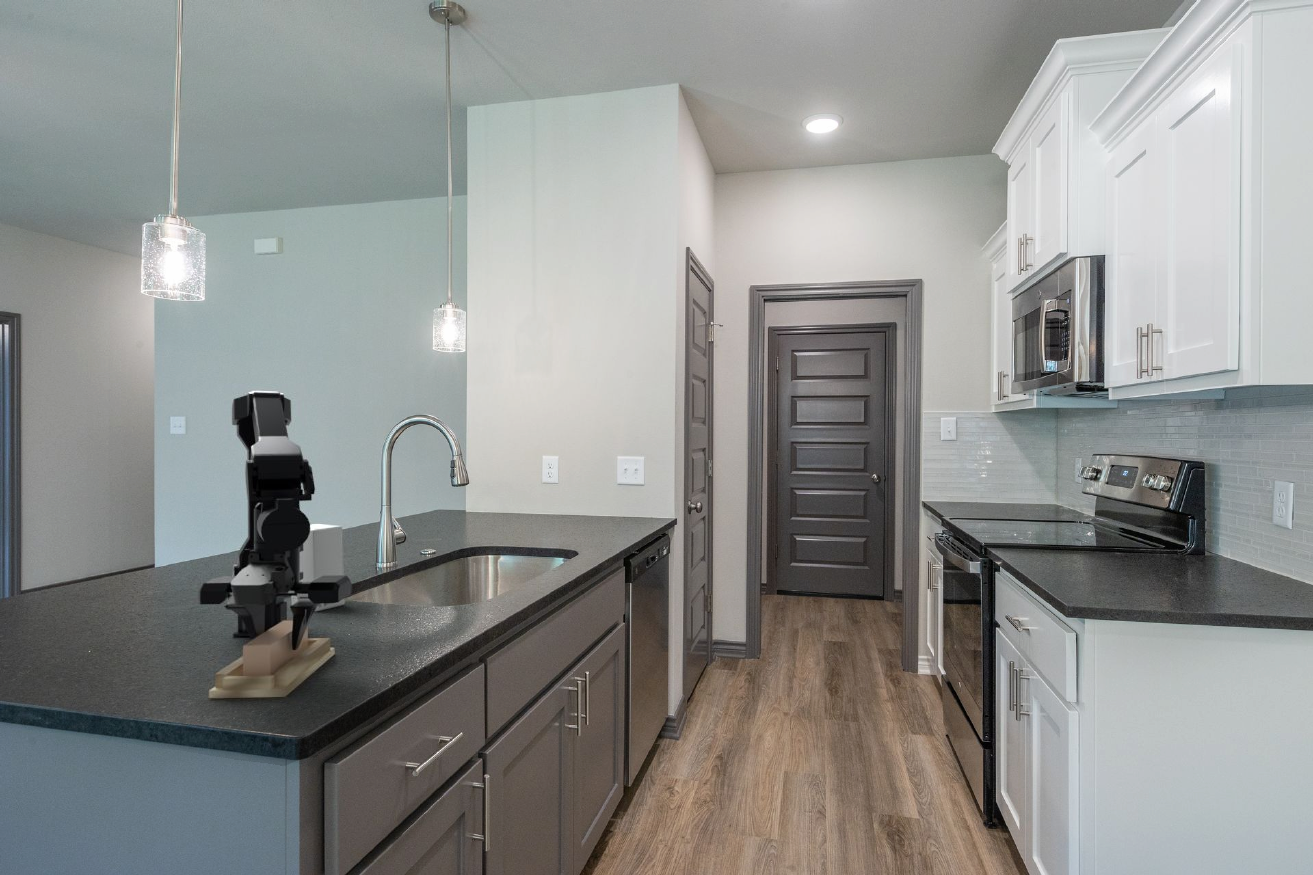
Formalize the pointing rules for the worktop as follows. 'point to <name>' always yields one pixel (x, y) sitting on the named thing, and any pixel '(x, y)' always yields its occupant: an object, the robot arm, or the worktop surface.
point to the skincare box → (322, 557)
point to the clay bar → (271, 650)
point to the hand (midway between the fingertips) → (277, 649)
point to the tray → (277, 685)
